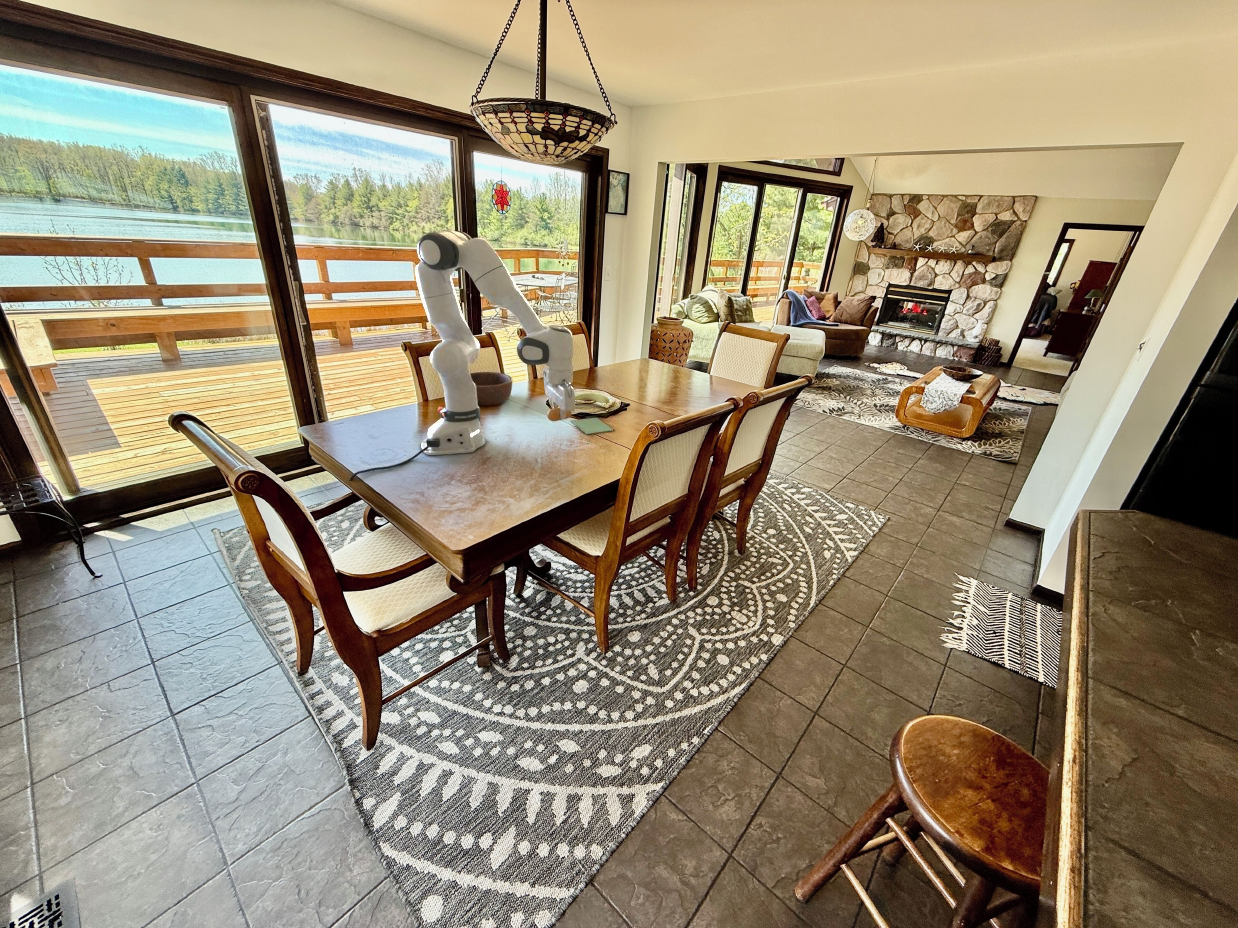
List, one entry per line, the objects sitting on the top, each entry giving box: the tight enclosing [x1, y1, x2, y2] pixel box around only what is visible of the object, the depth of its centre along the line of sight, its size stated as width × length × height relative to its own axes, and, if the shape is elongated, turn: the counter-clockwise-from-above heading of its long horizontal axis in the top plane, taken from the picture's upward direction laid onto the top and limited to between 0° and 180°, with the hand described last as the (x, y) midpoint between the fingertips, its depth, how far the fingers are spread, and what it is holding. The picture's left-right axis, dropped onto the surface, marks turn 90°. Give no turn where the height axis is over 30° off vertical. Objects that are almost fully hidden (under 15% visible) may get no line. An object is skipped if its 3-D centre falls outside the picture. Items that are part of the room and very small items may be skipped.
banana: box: [575, 392, 610, 413], centre depth 223 cm, size 14×6×20 cm
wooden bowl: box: [470, 371, 513, 407], centre depth 223 cm, size 25×25×10 cm
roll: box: [546, 407, 573, 422], centre depth 166 cm, size 9×4×4 cm, turn 129°
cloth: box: [571, 417, 614, 435], centre depth 202 cm, size 12×16×1 cm
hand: (559, 415), depth 166 cm, fingers closed on roll, 5 cm apart
